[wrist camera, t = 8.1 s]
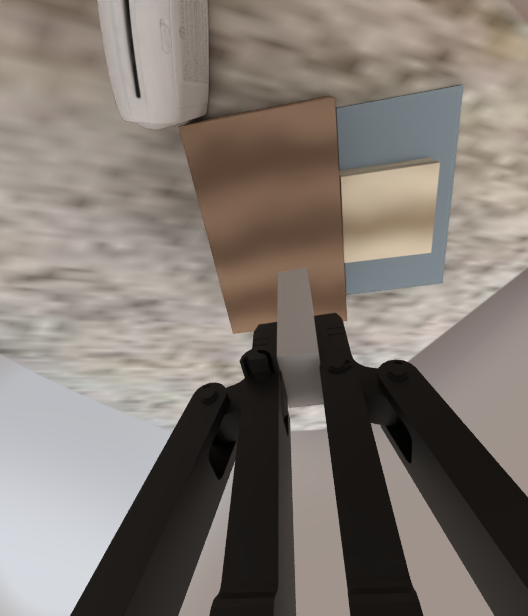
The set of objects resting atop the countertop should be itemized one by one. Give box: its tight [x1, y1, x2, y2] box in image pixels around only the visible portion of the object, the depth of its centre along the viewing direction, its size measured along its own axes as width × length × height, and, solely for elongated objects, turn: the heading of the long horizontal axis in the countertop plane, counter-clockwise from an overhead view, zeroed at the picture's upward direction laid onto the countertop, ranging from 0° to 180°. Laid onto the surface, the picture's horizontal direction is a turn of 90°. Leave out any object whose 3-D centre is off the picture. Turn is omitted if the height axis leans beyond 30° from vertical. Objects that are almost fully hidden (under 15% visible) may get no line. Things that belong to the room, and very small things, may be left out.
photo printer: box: [97, 0, 209, 129], centre depth 23 cm, size 10×4×12 cm, turn 176°
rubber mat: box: [336, 85, 463, 295], centre depth 34 cm, size 18×10×1 cm, turn 10°
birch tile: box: [339, 157, 440, 263], centre depth 33 cm, size 8×8×2 cm
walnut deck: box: [179, 96, 347, 334], centre depth 34 cm, size 20×12×4 cm, turn 10°
